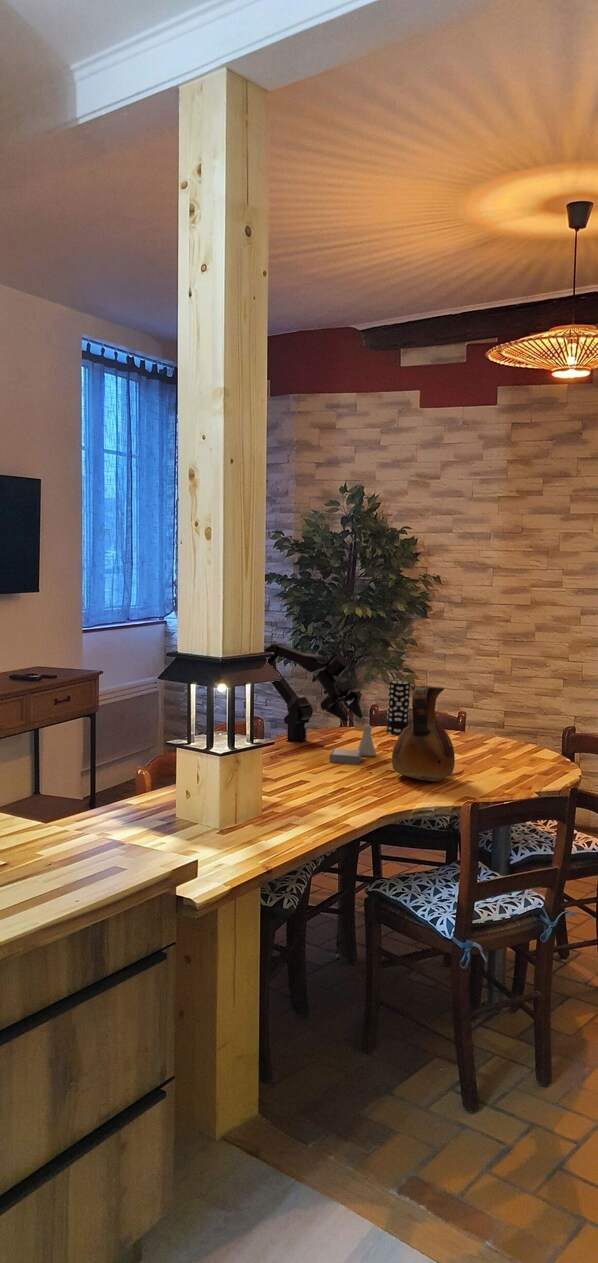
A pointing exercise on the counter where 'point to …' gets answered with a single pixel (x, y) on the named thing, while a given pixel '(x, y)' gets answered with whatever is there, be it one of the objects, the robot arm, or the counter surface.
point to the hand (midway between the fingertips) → (354, 719)
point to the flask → (367, 742)
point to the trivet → (346, 756)
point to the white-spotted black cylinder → (398, 706)
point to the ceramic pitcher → (424, 741)
